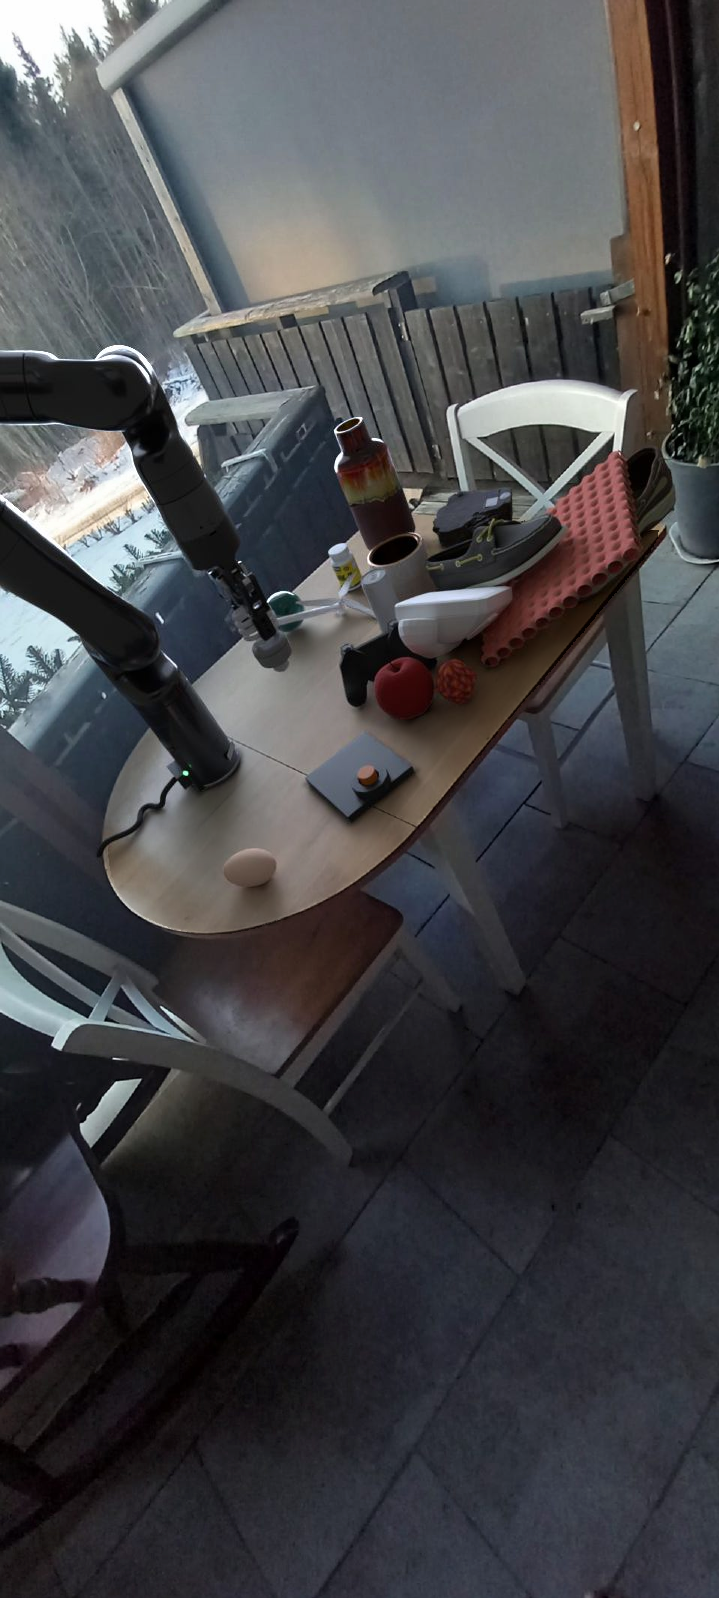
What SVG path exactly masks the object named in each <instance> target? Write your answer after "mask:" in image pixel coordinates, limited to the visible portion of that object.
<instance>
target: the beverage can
mask: <svg viewBox="0 0 719 1598" xmlns="http://www.w3.org/2000/svg"><path fill="white" fill-rule="evenodd" d="M361 583H362V584H361V588H362V590H363V592H364V595H365V597H366V599H367V602H368V604H369V605H370V609H371V610H372V611H373V612H374V615H375V617H376V618H375V619H376V622H377V624H378V626H379V628H380V631H381V634H383V633H385V632H386V631H388V630H387V626H388V625H387V623H388V622H389V621H390V620H393V619H396V614H395V605H396V604H398V603H399V601H398V599H397V596H396V594H395V591H394V589H393V586H392V584H391V581H390V579H389V576H388V574H387V573H386V571H385V570H384V569H382V568H377V569H373V570H369V571H367V572H365V573H364V574H363V575H362V578H361ZM397 620H398V619H397Z"/></svg>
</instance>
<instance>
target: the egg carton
mask: <svg viewBox="0 0 719 1598" xmlns="http://www.w3.org/2000/svg"><path fill="white" fill-rule="evenodd" d="M626 459H627V458H626V456H625V454H624V453H623V452H622V451H621V450H620V449H618V450H614V451H612V452H610V454H609V455H608V456H607V459H606V460H605V461H604V462H601V463H598V464H597V465H596V466H595V467H594V471H593V472H592V473H591V474H587V475H584V476H583V478H582V479H581V482H580V483H579V484H578V485H574V486H573V487H571V488H570V490H569V492H568V494H567V495H566V496H563V497H560V498H558V500H557V503H556V504H555V506H553V507H550V508H548V509H547V510H545V513H544V514H547V513H550V514H552V515H553V516H555V517H556V518H558V520H559V521H560V523H561V525H564V524H565V525H566V526H567V527H568V528H569V530H568V532H567V533H566V535H565V536H564V537H563V538H562V539H561V540H560V541H559V542H558V544H557V545H556V546H554V547H553V548H552V549H551V550H550V551H549V552H548V553H547V554H546V555H545V556H544V557H543V558H541V559H540V560H539V561H538V562H536V563H535V564H534V565H532V566H531V567H530V568H528V569H527V570H525V571H524V572H522V573H520V574H519V575H517V576H515V577H513V578H512V579H509V580H507V581H505V582H503V583H500V584H498V585H495V586H491V587H498V586H508V587H512V597H513V600H511V601H512V602H511V603H510V604H509V605H508V606H507V607H506V608H505V609H504V610H503V611H502V612H501V613H500V614H499V615H498V617H497V618H496V619H495V620H494V621H493V622H492V623H491V624H490V625H488V626H487V627H486V628H485V629H484V630H483V632H484V635H483V636H482V641H483V643H484V644H483V645H482V646H481V649H482V652H483V655H482V656H481V661H482V663H483V665H485V666H486V667H487V668H495V667H497V666H498V665H499V661H500V660H501V659H507V658H509V656H511V653H512V651H513V650H514V649H516V650H517V649H520V648H522V647H523V645H524V642H525V641H526V640H530V639H534V638H535V637H536V635H537V633H538V631H539V630H544V629H546V628H548V627H549V626H550V624H551V621H553V619H554V620H555V619H560V618H561V617H563V615H564V612H565V611H566V610H567V609H571V608H575V607H576V606H577V605H578V603H579V602H578V600H579V598H580V597H587V596H589V595H590V594H591V593H592V589H593V588H594V587H595V586H596V585H597V586H600V585H603V584H605V583H606V581H607V578H608V577H609V575H611V574H617V573H619V572H620V571H621V570H622V569H623V566H624V564H625V563H626V562H629V563H632V562H635V561H636V560H638V558H639V556H640V554H641V553H642V551H644V547H643V545H642V543H641V540H642V536H641V534H639V533H638V532H637V531H638V530H639V526H638V524H637V523H636V521H637V520H638V519H637V516H636V515H635V513H634V512H635V511H636V509H635V507H634V505H633V504H632V503H633V502H634V499H633V497H632V496H631V494H632V493H633V492H632V489H631V488H630V485H631V482H630V480H629V479H628V477H629V473H628V471H627V469H628V466H627V464H626V463H625V462H626V461H627V460H626ZM487 660H488V661H489V663H490V665H487V664H486V661H487Z"/></svg>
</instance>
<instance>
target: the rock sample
mask: <svg viewBox="0 0 719 1598" xmlns="http://www.w3.org/2000/svg"><path fill="white" fill-rule="evenodd" d="M513 507H514V506H513V491H512V489H511V487H506V486H505V487H499V488H493V489H489V490H485V491H481V490H476V489H473V490H460V491H457V492H456V493H453V494H452V495H450V496H449V497H448V498H447V503H446V504H445V505H443V506H442V507H439V508H438V510H437V512H436V513H435V515H436V517H435V518H434V519H433V521H432V525H433V526H432V529H431V530H432V533H434V534H436V535H437V538H438V544H439V545H440V547H444V546H445V547H448V548H450V547H452V546H454V545H457V544H459V543H462V542H464V541H467V540H470V539H472V538H473V533H474V531H475V529H476V528H478V527H480V526H489V525H488V522H491V521H492V520H493V519H495V522H496V521H498V520H501V519H503V520H504V521H511V520H513V515H514V514H513V513H514V510H513V509H514V508H513Z"/></svg>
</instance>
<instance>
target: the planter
mask: <svg viewBox="0 0 719 1598" xmlns="http://www.w3.org/2000/svg"><path fill="white" fill-rule="evenodd" d="M428 557H430V555H429V554H428V550H427V547H426V545H425V542H424V539H423V537H422V536H421V535H420V534H419V533H415V532H414V533H402V534H398V535H395V536H392V537H390V538H388V539H386V540H384V541H382V542H380V543H379V544H378V545H376V546H375V547H374V548H373V549H372V550H371V551H370V550H369V553H368V554H367V556H366V563H367V565H368V567H369V571H371V570H373V569H377V568H382V569H384V570H385V571H386V573H387V574H388V576H389V579H390V581H391V584H392V586H393V589H394V591H395V594H396V596H397V599H398V601H399V603H400V602H402V601H405V600H408V599H410V598H413V597H416V596H419V595H422V594H426V593H431V592H435V589H436V586H435V584H434V582H433V580H432V579H431V577H430V574H429V573H428V570H427V569H426V567H425V560H426V559H427V558H428Z"/></svg>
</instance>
